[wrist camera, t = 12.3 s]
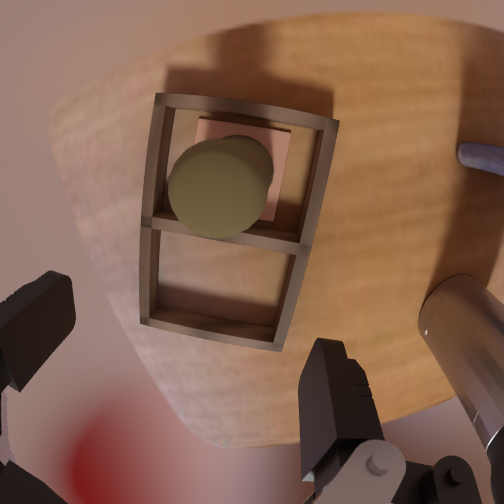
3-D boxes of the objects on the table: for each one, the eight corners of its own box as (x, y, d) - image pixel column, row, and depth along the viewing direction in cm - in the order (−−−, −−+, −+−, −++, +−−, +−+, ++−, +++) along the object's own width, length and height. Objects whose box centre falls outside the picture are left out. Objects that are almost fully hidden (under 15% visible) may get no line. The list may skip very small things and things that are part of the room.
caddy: (332, 122, 22) (339, 120, 20) (280, 336, 30) (281, 352, 27) (166, 96, 22) (156, 92, 19) (148, 310, 29) (140, 323, 27)
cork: (199, 136, 23) (146, 135, 12) (273, 133, 22) (277, 126, 12) (202, 207, 25) (157, 255, 15) (274, 206, 25) (277, 255, 14)
